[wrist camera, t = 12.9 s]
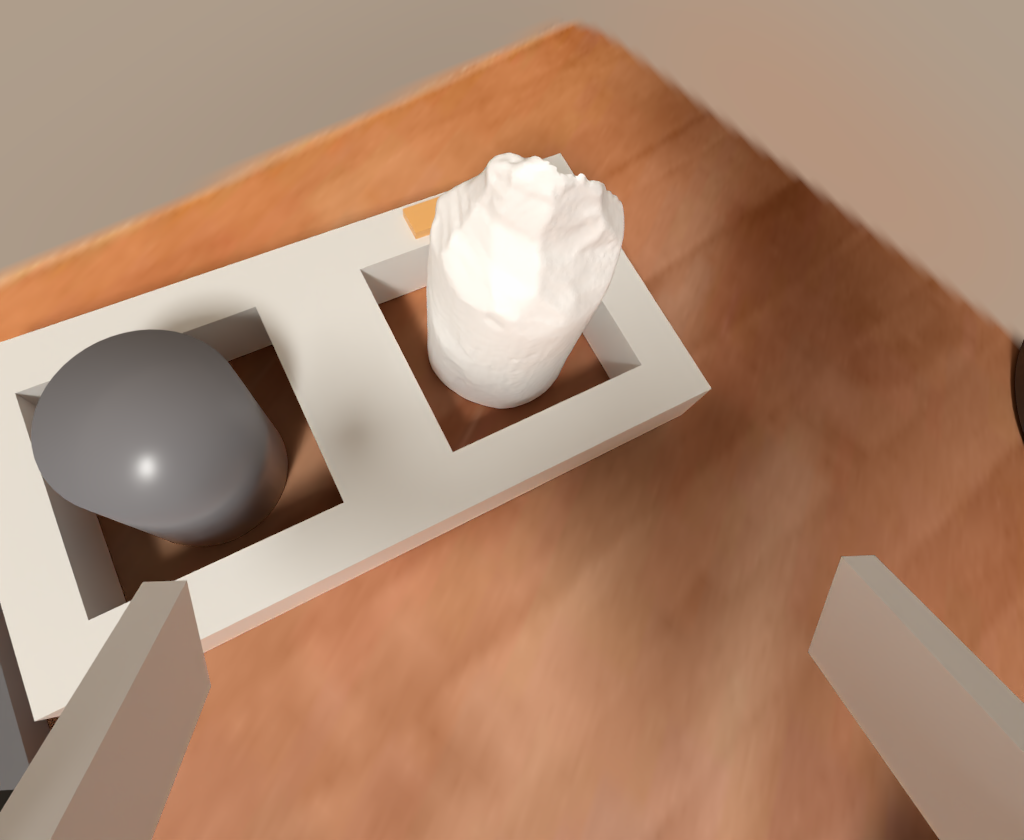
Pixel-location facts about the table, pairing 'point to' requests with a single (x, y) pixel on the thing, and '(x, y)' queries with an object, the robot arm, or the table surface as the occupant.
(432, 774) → the table surface
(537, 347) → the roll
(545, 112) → the table surface
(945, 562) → the table surface
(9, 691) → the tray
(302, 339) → the block
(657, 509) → the table surface
